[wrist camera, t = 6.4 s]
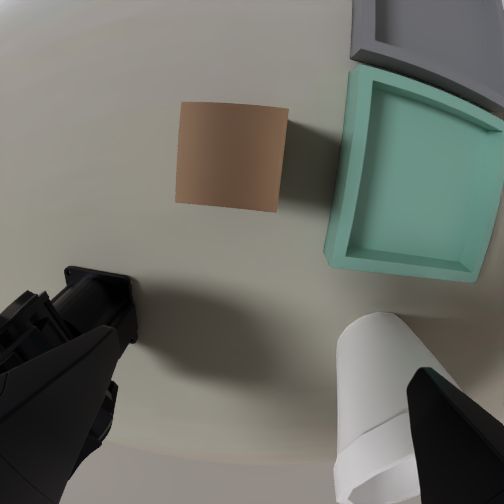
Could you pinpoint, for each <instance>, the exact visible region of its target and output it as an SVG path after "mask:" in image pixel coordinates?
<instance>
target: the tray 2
mask: <svg viewBox="0 0 504 504" xmlns="http://www.w3.org/2000/svg"><path fill="white" fill-rule="evenodd" d="M503 183H504V121H503V120H501V119H499V118H498V117H496V116H494V115H492V114H490V113H488V112H486V111H485V110H483V109H481V108H479V107H477V106H475V105H473V104H471V103H468V102H466V101H464V100H462V99H460V98H458V97H455V96H453V95H451V94H449V93H446V92H444V91H441V90H439V89H436V88H434V87H431V86H429V85H426V84H424V83H421V82H418V81H415V80H412V79H410V78H407V77H404V76H401V75H397V74H394V73H391V72H388V71H384V70H381V69H377V68H374V67H370V66H366V65H362V64H359V65H358V66H357V67H355V68H354V69H353V70H352V71H350V72H349V78H348V89H347V99H346V109H345V118H344V126H343V134H342V142H341V150H340V157H339V164H338V171H337V177H336V184H335V190H334V196H333V202H332V208H331V213H330V219H329V224H328V230H327V235H326V240H325V245H324V250H323V252H324V254H325V257H326V259H327V262H328V264H329V267H332V268H340V269H349V270H358V271H367V272H376V273H385V274H394V275H403V276H412V277H421V278H431V279H440V280H449V281H459V282H468V283H476V280H477V278H478V275H479V272H480V269H481V266H482V263H483V260H484V257H485V254H486V251H487V248H488V245H489V241H490V238H491V235H492V231H493V227H494V223H495V220H496V216H497V211H498V207H499V203H500V198H501V193H502V188H503Z"/></svg>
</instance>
